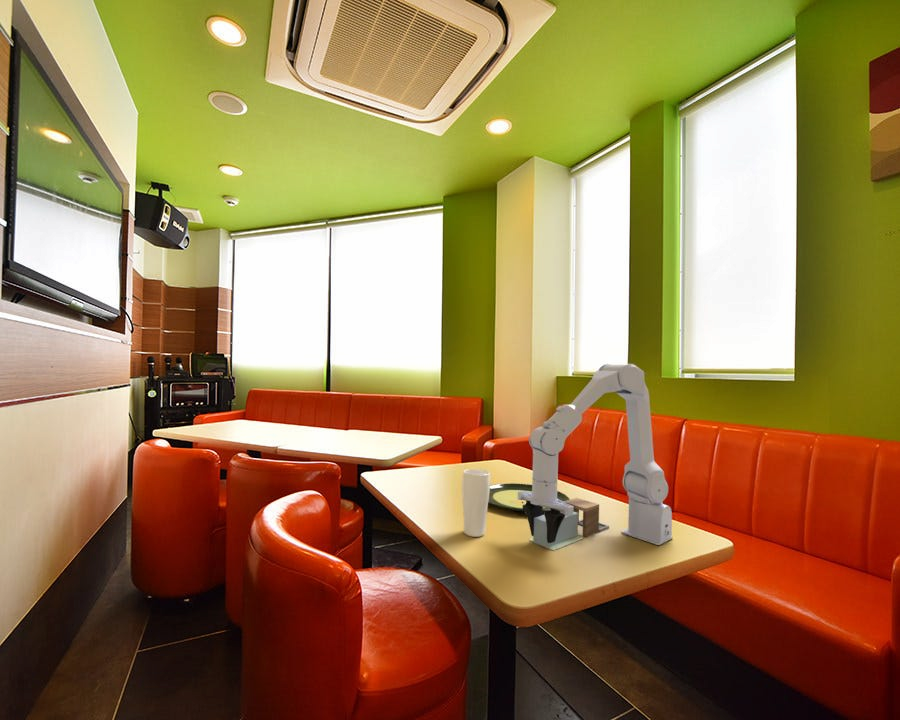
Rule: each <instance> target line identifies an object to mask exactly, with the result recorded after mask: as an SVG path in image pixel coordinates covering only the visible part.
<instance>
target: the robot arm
mask: <svg viewBox="0 0 900 720" xmlns="http://www.w3.org/2000/svg"><path fill="white" fill-rule="evenodd" d="M614 392H615V393H616V394H617V395H619V397H622V398H623V399H624V400H625V409H626V420H627V421H626V422H627V433H628V434H627V435H628V449H629V459H630V460H629V461H628V462H627V463H626V464H625V465H624V474H623V477H622V487H623V488H624V490H625V491H626V492H627V493H626V494H627V495H626V496H627V497H628V521H627V522H628V525H627V526H628V527H627V528H625V529H623V530H621V531H620V532H621V534H624V535H627V536H629V537H633V538H635V539H638V540H642V541H645V542H648V543H651V544H653V545H657V546H661V545H662V544H665V543H666V542H668V541H669V540H672V539H673V536H672V530H673V529H672V528H673V527H672V525H673V523H672V522H673V521H672V520H673V513H672V507H671V506H669V505H667V504H664V503H663V501H665V499H666V498H667V496H668V494H669V485H668V482H667V481H666V477H665V472H664V470H663V469H662V468H661V467H660V466H659V465H658V464H657V462H656V461H655V457H654V456H655V455H654V443H653V440H654V439H653V428H652V419H651V417H652V415H651V407H650V406H651V405H650V404H651V403H650V393H649V389H648V387H647V385H646V381H645V371H644V370H643V369H641V368H640V367H638V366H637V365H636V364H634V363H627V364H608V363H606V364H603V365H601V366H600V367H599V368H598V370H597V371H595V372H594V373H593V375H592V379H590V381H588V383H587V385H585V387H584V388H583V389H582V390H581V392H580V393H578V395H577V396H576V397H575V398H574V400H573V401H572V402H571V403H569V404H563V405H558V406H557V407H556V409H555V410H556V412H555V413H554V414H553V415H552V416H551V417H550V418H549V419H548V420H545V421H544V422H543V423H542V426H540V427H536V428H534V430H533V431H532V432H531V435H530V437H529V438H528V442H529V446H530V447H531V449H532V482H531V483H532V484H531V485H532V492H527V491H519V492H518V500H524V501H526V504H525V505H523V510H524V512H523V513H524V514H525V516H526V519H527V521H528V525H529V530H530V534H531V537H533V536H534V518H535V517H538V516H542V515H545V519H546V524H547V542H548V543H552V542H555V540H556V536H557V532H558V529H559V527H560V525H561V523H562V521H563V519H564V517H565V516H571V515H573V511H574V506H571V505H569V504H567V503H565V502H563V501H561V500H559V499H557V491H558V477H559V476H558V474H559V473H558V472H559V453H560V452H562V451H563V449H564V446H565V441H566V440H567V438H568V436H570V434H572V432H573V431H574V430H575V429H576V428H577V427H578V426H579V425H580V424H581V423H582V422H583V421H582V420H583V416H582V414H584V412H586V411H587V410H588V409H589V408H590V407H592V405H593V404H594V403H596V402H597V400H599V399H600V398H601V397H602V396H603V395H604V394H608V393H614ZM543 507H545V508H548V509H550V511H547V512H542V509H543ZM542 513H543V514H542Z"/></svg>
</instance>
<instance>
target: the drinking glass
mask: <svg viewBox="0 0 900 720" xmlns="http://www.w3.org/2000/svg"><path fill="white" fill-rule="evenodd" d="M461 484H462V485H461V486H462V487H461V491H462V510H463V511H462V512H463V513H462V515H463V533H464V534H465V535H466V536H468V537H472V538H478V537H479V538H480V537H483V536H484V535H485V534H486V529H487V528H486V526H487V525H486V524H487V515H488V507H489V503H488V500H489V491H490V485H491V472H490V471H488V470H486V469H482V468H467V469H464V470H462V482H461Z"/></svg>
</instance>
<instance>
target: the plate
mask: <svg viewBox="0 0 900 720" xmlns="http://www.w3.org/2000/svg"><path fill="white" fill-rule="evenodd" d="M519 491H527V492H532V484H530V483H529V484H528V483H517V482H516V483H513V482H511V483H497V484H496V483H495V484H490V491H489V500H488V504H490V505H492V506H494V507H496V508H497V507H498V508H500V509H503V510H509V511H514V512H521V513H522V512H523V513H525V512H524V510H523V505H525V504H522V503H518V502H515V501H514V500H515V499H518V492H519ZM557 499H559V500H561V501H563V502H564V501H567V500H571V498H569V496H568V495H566V494H565V493H563V492H561V491H559V490H557ZM547 511H550V509H548V508H545V507H543V509H542V513H544V512H547Z"/></svg>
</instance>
